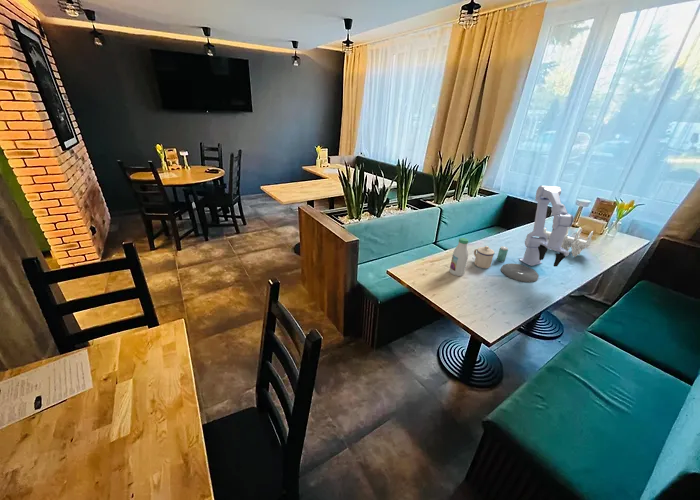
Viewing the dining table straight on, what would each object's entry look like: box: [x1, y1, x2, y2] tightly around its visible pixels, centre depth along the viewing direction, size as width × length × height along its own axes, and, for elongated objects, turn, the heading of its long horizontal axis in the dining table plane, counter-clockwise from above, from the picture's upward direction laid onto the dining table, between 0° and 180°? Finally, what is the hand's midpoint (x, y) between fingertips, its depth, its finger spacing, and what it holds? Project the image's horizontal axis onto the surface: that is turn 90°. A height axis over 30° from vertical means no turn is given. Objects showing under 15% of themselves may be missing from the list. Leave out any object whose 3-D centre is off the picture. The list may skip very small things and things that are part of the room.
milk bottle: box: [448, 237, 469, 277], centre depth 154 cm, size 8×8×20 cm
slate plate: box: [500, 263, 539, 283], centre depth 159 cm, size 18×18×1 cm
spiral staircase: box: [538, 226, 594, 258], centre depth 181 cm, size 18×18×25 cm
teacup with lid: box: [473, 245, 495, 269], centre depth 165 cm, size 12×9×12 cm
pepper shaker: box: [496, 245, 509, 263], centre depth 171 cm, size 4×4×8 cm
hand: (548, 262), depth 149 cm, fingers open, 7 cm apart
